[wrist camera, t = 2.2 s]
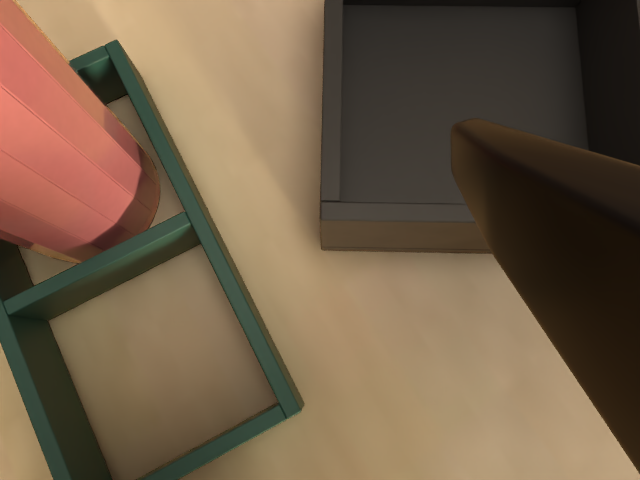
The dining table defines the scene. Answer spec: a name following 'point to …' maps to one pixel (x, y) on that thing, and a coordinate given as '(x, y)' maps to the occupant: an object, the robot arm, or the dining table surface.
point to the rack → (107, 272)
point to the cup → (64, 153)
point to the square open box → (460, 104)
